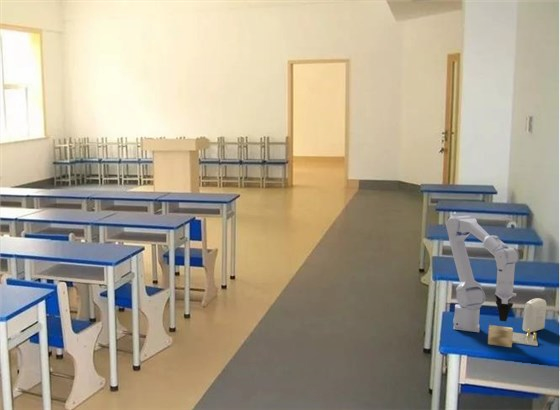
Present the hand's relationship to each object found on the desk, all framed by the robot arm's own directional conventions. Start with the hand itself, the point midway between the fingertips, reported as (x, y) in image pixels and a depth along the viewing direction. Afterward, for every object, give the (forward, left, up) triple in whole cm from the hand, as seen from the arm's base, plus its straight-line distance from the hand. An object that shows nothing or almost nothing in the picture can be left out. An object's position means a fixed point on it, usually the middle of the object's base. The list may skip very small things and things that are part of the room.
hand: (502, 317), depth 213 cm
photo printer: (+13, +20, -10) cm, 26 cm away
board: (0, 0, -10) cm, 10 cm away
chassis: (+7, +7, -10) cm, 14 cm away
